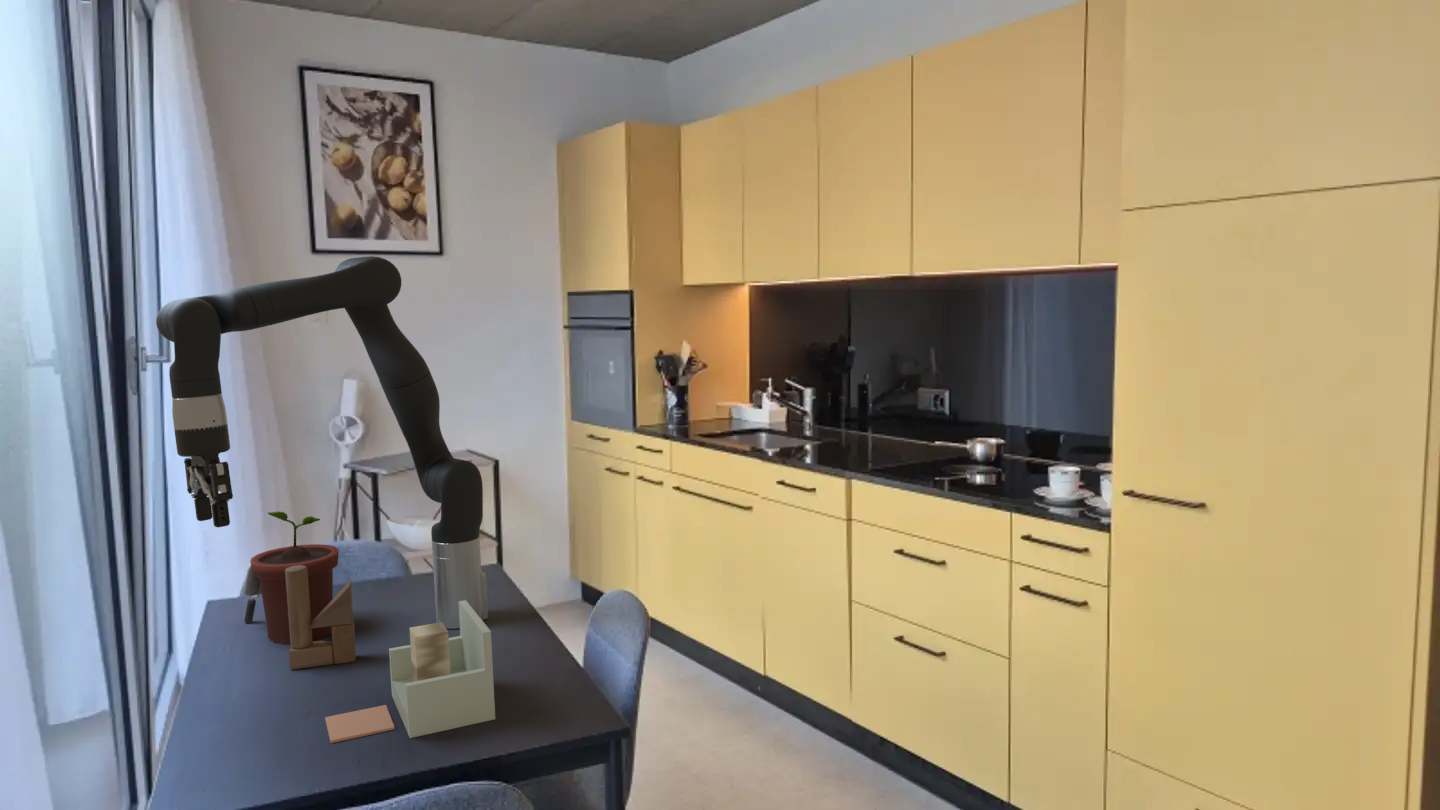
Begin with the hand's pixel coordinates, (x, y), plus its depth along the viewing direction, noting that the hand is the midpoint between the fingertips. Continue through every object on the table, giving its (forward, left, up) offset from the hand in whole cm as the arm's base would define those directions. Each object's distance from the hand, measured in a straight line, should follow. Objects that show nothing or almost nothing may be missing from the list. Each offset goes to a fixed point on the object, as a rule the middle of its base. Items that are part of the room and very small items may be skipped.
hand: (213, 523), depth 153 cm
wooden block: (-17, -2, -30) cm, 34 cm away
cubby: (-21, +32, -29) cm, 48 cm away
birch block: (-20, +31, -26) cm, 45 cm away
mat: (-9, +27, -29) cm, 41 cm away
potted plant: (-21, -24, -30) cm, 43 cm away
